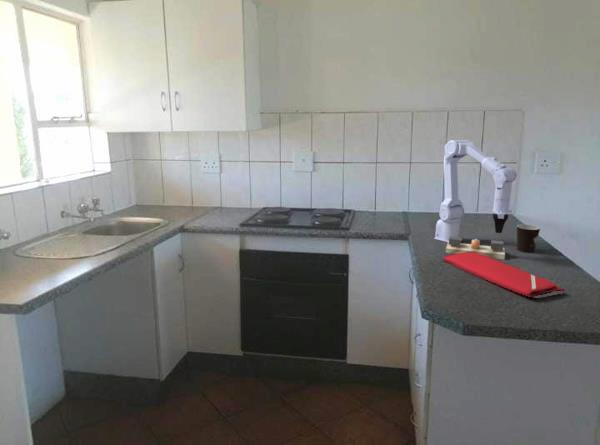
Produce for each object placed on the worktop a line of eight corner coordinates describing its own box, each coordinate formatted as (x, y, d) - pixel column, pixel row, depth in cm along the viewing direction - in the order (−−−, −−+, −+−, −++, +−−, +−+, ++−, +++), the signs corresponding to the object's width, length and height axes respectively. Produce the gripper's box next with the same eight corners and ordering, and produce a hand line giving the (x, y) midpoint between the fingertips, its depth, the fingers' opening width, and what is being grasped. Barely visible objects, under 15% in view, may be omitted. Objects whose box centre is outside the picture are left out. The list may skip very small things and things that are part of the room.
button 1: (448, 244, 191) (449, 238, 190) (449, 241, 195) (450, 236, 194) (460, 245, 189) (460, 239, 189) (460, 242, 193) (461, 237, 193)
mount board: (445, 252, 189) (446, 246, 189) (447, 246, 199) (448, 240, 198) (504, 259, 182) (505, 253, 181) (503, 252, 191) (504, 246, 190)
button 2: (490, 248, 185) (491, 243, 185) (490, 245, 189) (491, 240, 189) (502, 250, 184) (503, 244, 183) (502, 247, 188) (503, 241, 187)
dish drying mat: (475, 257, 185) (475, 248, 184) (565, 295, 148) (566, 284, 147) (442, 262, 180) (442, 252, 179) (527, 302, 143) (528, 291, 142)
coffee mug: (524, 254, 188) (527, 230, 186) (509, 248, 197) (512, 225, 194) (548, 252, 192) (551, 228, 189) (532, 246, 200) (535, 223, 197)
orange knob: (470, 248, 189) (471, 240, 188) (471, 246, 192) (471, 238, 191) (479, 249, 188) (480, 241, 187) (479, 247, 190) (480, 239, 190)
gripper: (514, 203, 174) (510, 238, 177) (512, 196, 187) (508, 229, 190) (493, 201, 176) (490, 236, 180) (493, 195, 189) (490, 227, 193)
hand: (498, 232), depth 185 cm, fingers closed
